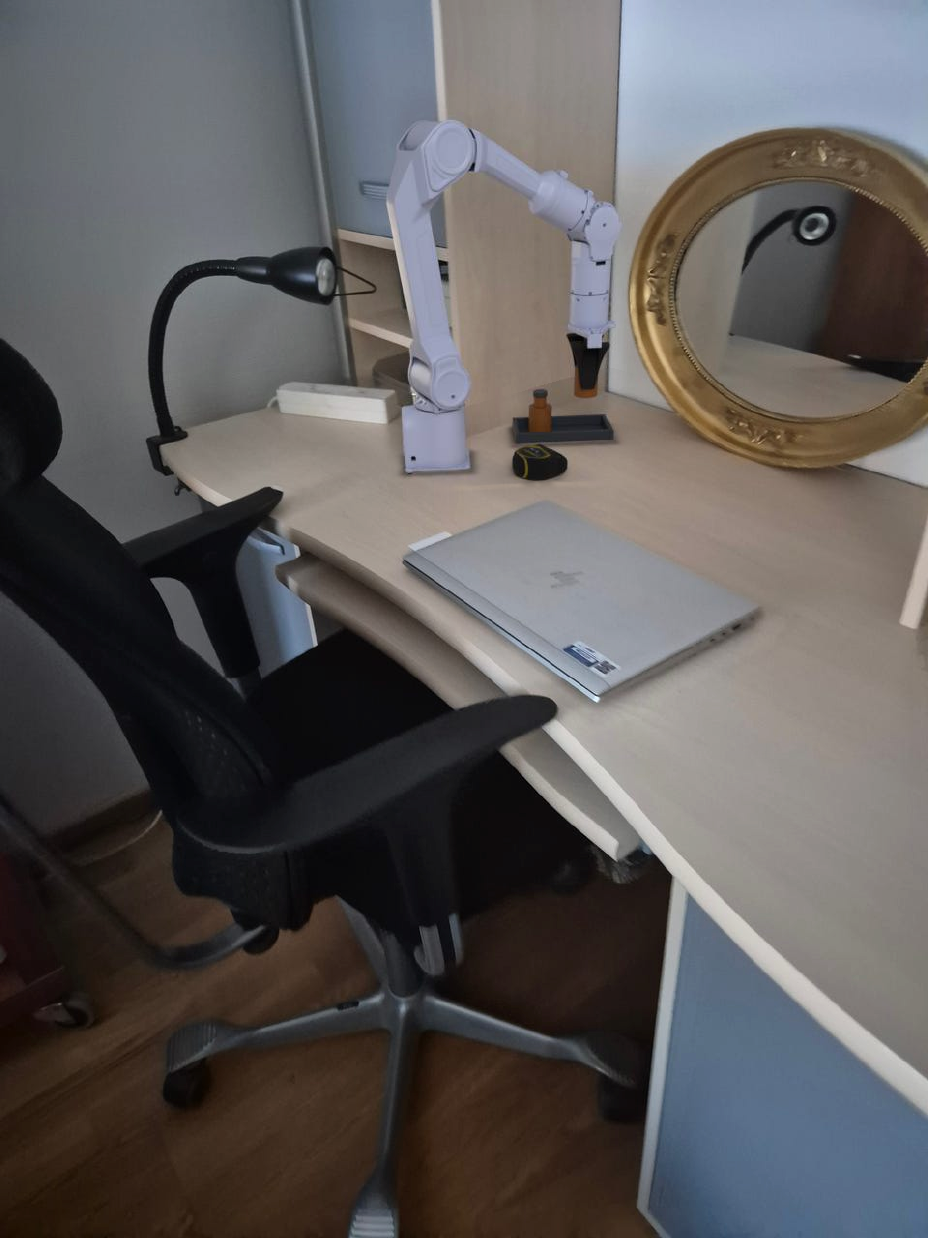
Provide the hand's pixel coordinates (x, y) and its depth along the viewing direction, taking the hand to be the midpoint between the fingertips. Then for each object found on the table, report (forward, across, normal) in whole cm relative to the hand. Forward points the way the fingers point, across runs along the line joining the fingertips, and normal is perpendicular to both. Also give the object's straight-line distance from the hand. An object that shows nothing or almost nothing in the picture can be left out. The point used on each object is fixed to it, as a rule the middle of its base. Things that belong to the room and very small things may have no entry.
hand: (585, 384), depth 126 cm
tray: (+8, 0, +4) cm, 9 cm away
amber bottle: (+2, 0, 0) cm, 2 cm away
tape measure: (+8, -16, +8) cm, 20 cm away
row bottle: (+8, 0, +7) cm, 10 cm away
